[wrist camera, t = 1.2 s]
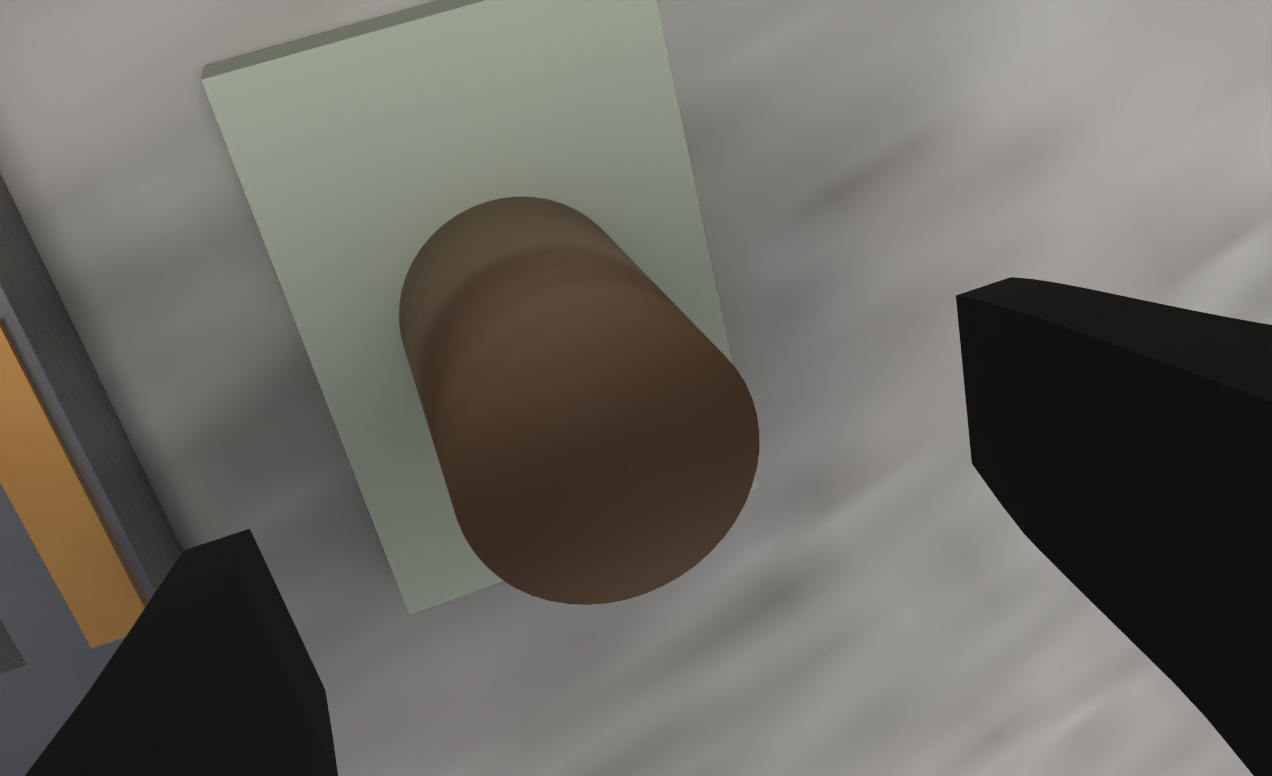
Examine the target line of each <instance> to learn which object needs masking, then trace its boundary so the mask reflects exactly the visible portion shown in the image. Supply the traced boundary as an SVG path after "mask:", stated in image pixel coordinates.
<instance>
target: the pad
mask: <svg viewBox="0 0 1272 776" xmlns="http://www.w3.org/2000/svg"><path fill="white" fill-rule="evenodd" d="M201 81H202V84H203V87H204V89H205V92H206V94H207V97H208V99H209V102H210V105H211V107H212V110H213V112H214V115H215V117H216V120H217V123H218V125H219V128H220V130H221V133H222V135H223V138H224V141H225V143H226V146H227V148H228V151H229V153H230V156H231V158H232V161H233V164H234V166H235V169H236V171H237V174H238V176H239V179H240V182H241V184H242V187H243V189H244V192H245V194H246V197H247V200H248V202H249V205H250V207H251V210H252V212H253V215H254V218H255V220H256V223H257V225H258V228H259V230H260V233H261V236H262V238H263V241H264V243H265V246H266V248H267V251H268V254H269V256H270V259H271V261H272V264H273V266H274V269H275V272H276V274H277V277H278V279H279V282H280V284H281V287H282V290H283V292H284V295H285V297H286V300H287V302H288V305H289V308H290V310H291V313H292V315H293V318H294V320H295V323H296V326H297V328H298V331H299V333H300V336H301V338H302V341H303V344H304V346H305V349H306V351H307V354H308V356H309V359H310V362H311V364H312V367H313V369H314V372H315V374H316V377H317V380H318V382H319V385H320V387H321V390H322V392H323V395H324V398H325V400H326V403H327V405H328V408H329V410H330V413H331V416H332V418H333V421H334V423H335V426H336V428H337V431H338V434H339V436H340V439H341V441H342V444H343V446H344V449H345V452H346V454H347V457H348V459H349V462H350V464H351V467H352V470H353V472H354V475H355V477H356V480H357V482H358V485H359V488H360V490H361V493H362V495H363V498H364V500H365V503H366V505H367V508H368V511H369V513H370V516H371V518H372V521H373V523H374V526H375V529H376V531H377V534H378V536H379V539H380V541H381V544H382V547H383V549H384V552H385V554H386V557H387V559H388V562H389V565H390V567H391V570H392V572H393V575H394V577H395V580H396V583H397V585H398V588H399V590H400V593H401V595H402V598H403V601H404V603H405V606H406V608H407V611H408V613H409V615H412V614H415V613H418V612H421V611H423V610H426V609H429V608H432V607H434V606H437V605H440V604H443V603H445V602H448V601H451V600H454V599H456V598H459V597H462V596H465V595H468V594H470V593H473V592H476V591H479V590H481V589H484V588H487V587H490V586H492V585H495V584H498V583H501V582H503V581H504V580H502V579H500V578H499V577H498V576H497V575H496V574H494V573H493V572H492V571H491V570H490V569H489V568H487V567H486V566H485V565H484V563H483V562H482V561H481V560H480V559H479V558H478V557H477V555H476V554H475V553H474V552H473V550H472V548H471V547H470V545H469V544H468V542H467V541H466V539H465V537H464V535H463V533H462V531H461V528H460V526H459V524H458V521H457V519H456V515H455V512H454V509H453V506H452V502H451V499H450V496H449V492H448V489H447V486H446V483H445V479H444V476H443V473H442V470H441V466H440V463H439V460H438V457H437V453H436V450H435V447H434V444H433V440H432V437H431V434H430V431H429V427H428V424H427V421H426V418H425V414H424V411H423V408H422V404H421V401H420V398H419V395H418V391H417V388H416V385H415V382H414V378H413V375H412V372H411V369H410V365H409V362H408V359H407V356H406V352H405V349H404V345H403V342H402V338H401V333H400V325H399V304H400V298H401V291H402V288H403V284H404V281H405V278H406V275H407V273H408V270H409V268H410V266H411V264H412V262H413V260H414V258H415V257H416V255H417V254H418V252H419V251H420V249H421V248H422V246H423V245H424V244H425V243H426V242H427V240H428V239H429V238H430V237H431V236H432V235H433V234H434V233H435V232H436V231H437V230H438V229H439V228H440V227H441V226H442V225H443V224H445V223H446V222H448V221H449V220H451V219H452V218H453V217H455V216H456V215H458V214H460V213H462V212H464V211H465V210H467V209H469V208H471V207H474V206H476V205H479V204H482V203H484V202H488V201H492V200H496V199H500V198H508V197H536V198H543V199H549V200H552V201H555V202H559V203H562V204H565V205H567V206H569V207H571V208H573V209H576V210H577V211H579V212H581V213H582V214H584V215H585V216H587V217H588V218H590V219H591V220H592V221H593V222H595V223H596V224H597V225H598V226H599V227H600V228H601V229H602V230H603V231H604V232H605V233H606V234H607V235H608V236H609V237H610V238H611V239H612V240H613V241H614V242H615V243H616V244H617V245H618V246H619V247H620V248H621V249H622V250H623V251H624V252H625V253H626V254H627V255H628V256H629V257H630V258H631V259H632V260H633V261H634V262H635V264H636V265H637V266H638V267H639V268H640V269H641V270H642V271H643V272H644V273H645V274H646V275H647V276H648V277H649V278H650V279H651V280H652V281H653V282H654V283H655V284H656V285H657V286H658V287H659V288H660V289H661V290H662V291H663V292H664V293H665V294H666V295H667V296H668V297H669V298H670V299H671V301H672V302H673V303H674V304H675V305H676V306H677V307H678V308H679V309H680V310H681V311H682V312H683V313H684V314H685V315H686V316H687V317H688V318H689V319H690V320H691V321H692V322H693V323H694V324H695V325H696V326H697V327H698V328H699V329H700V330H701V331H702V332H703V333H704V334H705V335H706V337H707V338H708V339H709V340H710V341H711V342H712V343H713V344H714V345H715V346H716V347H717V348H718V349H719V350H720V351H721V352H722V353H723V354H724V355H725V356H726V357H727V359H728V360H729V361H730V362H731V363H732V364H733V362H732V357H731V352H730V347H729V343H728V338H727V333H726V328H725V324H724V319H723V314H722V309H721V305H720V300H719V295H718V290H717V286H716V281H715V276H714V271H713V267H712V262H711V257H710V252H709V248H708V243H707V238H706V233H705V229H704V224H703V219H702V214H701V210H700V205H699V200H698V195H697V191H696V186H695V181H694V176H693V172H692V167H691V162H690V157H689V153H688V148H687V143H686V138H685V134H684V129H683V124H682V119H681V115H680V110H679V105H678V100H677V96H676V91H675V86H674V81H673V77H672V72H671V67H670V62H669V58H668V53H667V48H666V43H665V39H664V34H663V29H662V24H661V20H660V15H659V10H658V5H657V1H656V0H440V1H436V2H432V3H429V4H425V5H422V6H418V7H414V8H411V9H407V10H404V11H400V12H396V13H393V14H389V15H386V16H382V17H378V18H375V19H371V20H368V21H364V22H360V23H357V24H353V25H350V26H346V27H342V28H339V29H335V30H331V31H328V32H324V33H321V34H317V35H313V36H310V37H306V38H303V39H299V40H295V41H292V42H288V43H285V44H281V45H277V46H274V47H270V48H267V49H263V50H259V51H256V52H252V53H249V54H245V55H241V56H238V57H234V58H231V59H227V60H223V61H220V62H216V63H213V64H209V65H205V68H204V71H203V74H202V78H201ZM758 489H759V485H758V481H757V476H756V473H755V477H754V480H753V484H752V488H751V490H750V492H752V491H755V490H758ZM750 492H749V493H750Z"/></svg>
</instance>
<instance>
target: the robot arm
mask: <svg viewBox="0 0 1272 776" xmlns="http://www.w3.org/2000/svg"><path fill="white" fill-rule="evenodd" d="M956 301H957V311H958V322H959V332H960V343H961V353H962V364H963V374H964V385H965V395H966V406H967V416H968V427H969V437H970V448H971V458H972V464H973V466H974V467H975V468H976V470H977V471H978V473H979V474H980V475H981V477H982V478H983V480H984V481H985V482H986V484H987V485H988V487H989V488H990V489H991V491H992V492H993V493H994V495H995V496H996V498H997V499H998V500H999V502H1000V503H1001V505H1002V506H1003V507H1004V508H1005V510H1006V511H1007V512H1008V514H1009V515H1010V516H1011V517H1012V519H1013V520H1014V521H1015V523H1016V524H1017V525H1018V526H1019V528H1020V529H1021V530H1022V532H1023V533H1024V534H1025V535H1026V536H1027V537H1028V538H1029V539H1030V540H1031V541H1032V543H1033V544H1034V545H1035V546H1036V547H1037V548H1038V549H1039V550H1040V551H1041V552H1042V553H1043V554H1044V555H1045V556H1046V557H1047V558H1048V559H1049V560H1050V561H1051V562H1052V563H1053V564H1054V565H1055V566H1056V567H1057V568H1058V569H1059V570H1060V571H1061V572H1062V573H1063V574H1064V575H1065V576H1066V577H1067V578H1068V579H1069V580H1070V581H1071V582H1072V583H1073V584H1074V585H1075V586H1076V587H1077V588H1078V589H1079V590H1080V591H1081V592H1082V593H1083V594H1084V595H1085V596H1086V597H1087V598H1088V599H1089V600H1090V601H1091V602H1092V603H1093V604H1094V605H1095V606H1096V607H1097V608H1098V609H1099V610H1100V611H1101V612H1102V613H1103V614H1105V615H1106V616H1107V617H1108V618H1109V619H1110V620H1111V621H1112V622H1113V623H1114V624H1115V625H1116V626H1117V627H1118V628H1119V629H1120V630H1121V631H1122V632H1123V633H1124V634H1125V635H1126V636H1127V637H1128V638H1129V639H1130V640H1131V641H1132V642H1133V643H1134V644H1135V645H1136V646H1137V647H1138V648H1139V649H1140V650H1141V651H1142V652H1143V653H1144V654H1145V655H1146V656H1147V657H1148V658H1149V659H1150V660H1151V661H1152V662H1153V663H1154V664H1155V665H1156V666H1157V667H1158V668H1159V669H1160V670H1161V671H1162V672H1163V673H1164V674H1166V675H1167V676H1168V677H1169V678H1170V679H1171V680H1172V681H1173V682H1174V683H1175V685H1176V686H1177V687H1178V688H1179V689H1180V690H1181V691H1182V692H1183V693H1184V694H1185V695H1186V696H1187V697H1188V699H1189V700H1190V701H1191V702H1192V703H1193V704H1194V705H1195V706H1196V707H1197V708H1198V709H1199V710H1200V711H1201V712H1202V714H1203V715H1204V716H1205V717H1206V718H1207V719H1208V720H1209V722H1210V723H1211V724H1212V725H1213V726H1214V728H1215V729H1216V730H1217V731H1218V733H1219V734H1220V735H1221V736H1222V737H1223V739H1224V740H1225V741H1226V742H1227V744H1228V745H1229V746H1230V747H1231V748H1232V750H1233V751H1234V752H1235V753H1236V755H1237V756H1238V757H1239V758H1240V759H1241V761H1242V762H1243V763H1244V764H1245V766H1246V767H1247V768H1248V769H1249V770H1250V772H1251V773H1252V774H1253V775H1254V776H1272V325H1268V324H1262V323H1256V322H1251V321H1245V320H1240V319H1234V318H1229V317H1223V316H1218V315H1213V314H1208V313H1202V312H1197V311H1192V310H1187V309H1183V308H1178V307H1173V306H1168V305H1163V304H1158V303H1153V302H1149V301H1144V300H1139V299H1134V298H1129V297H1125V296H1120V295H1115V294H1110V293H1106V292H1101V291H1096V290H1091V289H1086V288H1081V287H1076V286H1070V285H1065V284H1060V283H1054V282H1048V281H1041V280H1034V279H1025V278H1014V277H1011V278H1008V279H1005V280H1002V281H998V282H995V283H992V284H989V285H986V286H983V287H980V288H977V289H974V290H971V291H968V292H965V293H962V294H959V295H956ZM25 776H338V773H337V765H336V758H335V751H334V743H333V736H332V730H331V724H330V717H329V711H328V704H327V698H326V692H325V689H324V687H323V684H322V682H321V680H320V678H319V676H318V674H317V672H316V669H315V667H314V665H313V663H312V661H311V659H310V657H309V654H308V652H307V650H306V648H305V646H304V644H303V642H302V639H301V637H300V635H299V633H298V631H297V629H296V627H295V625H294V622H293V620H292V618H291V616H290V614H289V612H288V610H287V607H286V605H285V603H284V601H283V599H282V597H281V595H280V592H279V590H278V588H277V586H276V584H275V582H274V580H273V577H272V575H271V573H270V571H269V569H268V567H267V565H266V562H265V560H264V558H263V556H262V554H261V552H260V550H259V548H258V545H257V543H256V541H255V539H254V537H253V535H252V533H251V530H250V529H248V530H245V531H242V532H239V533H236V534H233V535H230V536H227V537H224V538H221V539H217V540H214V541H211V542H208V543H205V544H202V545H199V546H196V547H193V548H190V549H187V550H185V551H184V552H183V553H182V555H181V556H180V557H179V559H178V560H177V561H176V563H175V564H174V565H173V567H172V568H171V570H170V571H169V573H168V574H167V575H166V577H165V578H164V580H163V581H162V583H161V584H160V586H159V587H158V589H157V590H156V592H155V593H154V595H153V596H152V598H151V599H150V601H149V602H148V604H147V605H146V607H145V608H144V610H143V612H142V613H141V615H140V616H139V618H138V619H137V621H136V622H135V624H134V625H133V627H132V628H131V630H130V631H129V633H128V634H127V636H126V637H125V638H124V640H123V641H122V643H121V644H120V646H119V647H118V649H117V650H116V652H115V653H114V655H113V656H112V658H111V659H110V660H109V662H108V663H107V665H106V666H105V668H104V669H103V671H102V672H101V674H100V675H99V677H98V678H97V679H96V681H95V682H94V684H93V685H92V687H91V688H90V690H89V691H88V693H87V694H86V695H85V697H84V698H83V699H82V701H81V702H80V703H79V705H78V706H77V707H76V709H75V710H74V711H73V713H72V714H71V715H70V717H69V718H68V719H67V721H66V722H65V723H64V724H63V726H62V727H61V728H60V730H59V731H58V732H57V734H56V735H55V736H54V738H53V739H52V740H51V742H50V743H49V744H48V746H47V747H46V748H45V750H44V751H43V752H42V753H41V755H40V756H39V757H38V759H37V760H36V761H35V763H34V764H33V765H32V767H31V768H30V769H29V771H28V772H27V773H26V775H25Z"/></svg>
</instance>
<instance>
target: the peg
mask: <svg viewBox="0 0 1272 776" xmlns="http://www.w3.org/2000/svg"><path fill="white" fill-rule="evenodd" d="M399 325H400V333H401V338H402V342H403V345H404V349H405V352H406V356H407V359H408V362H409V365H410V369H411V372H412V375H413V378H414V382H415V385H416V388H417V391H418V395H419V398H420V401H421V404H422V408H423V411H424V414H425V418H426V421H427V424H428V427H429V431H430V434H431V437H432V440H433V444H434V447H435V450H436V453H437V457H438V460H439V463H440V466H441V470H442V473H443V476H444V479H445V483H446V486H447V489H448V492H449V496H450V499H451V502H452V506H453V509H454V512H455V515H456V519H457V521H458V524H459V526H460V528H461V531H462V533H463V535H464V537H465V539H466V541H467V542H468V544H469V545H470V547H471V548H472V550H473V552H474V553H475V554H476V555H477V557H478V558H479V559H480V560H481V561H482V562H483V563H484V565H485V566H486V567H487V568H489V569H490V570H491V571H492V572H493V573H494V574H496V575H497V576H498V577H499V578H500V579H502V580H504V581H505V582H507V583H508V584H510V585H512V586H513V587H515V588H517V589H519V590H521V591H523V592H526V593H528V594H530V595H532V596H536V597H539V598H542V599H546V600H549V601H554V602H561V603H567V604H586V605H589V604H602V603H610V602H615V601H621V600H626V599H629V598H632V597H636V596H639V595H642V594H645V593H647V592H650V591H652V590H654V589H657V588H659V587H661V586H664V585H665V584H667V583H669V582H671V581H672V580H674V579H676V578H678V577H679V576H681V575H682V574H684V573H685V572H687V571H688V570H689V569H691V568H692V567H694V566H695V565H696V564H697V563H699V562H700V561H701V560H702V559H703V558H704V557H705V556H706V555H708V554H709V553H710V552H711V551H712V550H713V549H714V547H715V546H716V545H717V544H718V543H719V542H720V541H721V540H722V539H723V538H724V536H725V535H726V533H727V532H728V531H729V529H730V528H731V526H732V525H733V524H734V522H735V521H736V519H737V517H738V515H739V514H740V512H741V510H742V508H743V506H744V505H745V502H746V500H747V497H748V495H749V492H750V490H751V488H752V484H753V480H754V477H755V473H756V469H757V462H758V455H759V428H758V421H757V414H756V411H755V407H754V404H753V400H752V397H751V395H750V393H749V391H748V388H747V386H746V384H745V382H744V380H743V379H742V377H741V376H740V374H739V373H738V371H737V369H736V368H735V366H734V365H733V364H732V363H731V362H730V361H729V360H728V359H727V357H726V356H725V355H724V354H723V353H722V352H721V351H720V350H719V349H718V348H717V347H716V346H715V345H714V344H713V343H712V342H711V341H710V340H709V339H708V338H707V337H706V335H705V334H704V333H703V332H702V331H701V330H700V329H699V328H698V327H697V326H696V325H695V324H694V323H693V322H692V321H691V320H690V319H689V318H688V317H687V316H686V315H685V314H684V313H683V312H682V311H681V310H680V309H679V308H678V307H677V306H676V305H675V304H674V303H673V302H672V301H671V299H670V298H669V297H668V296H667V295H666V294H665V293H664V292H663V291H662V290H661V289H660V288H659V287H658V286H657V285H656V284H655V283H654V282H653V281H652V280H651V279H650V278H649V277H648V276H647V275H646V274H645V273H644V272H643V271H642V270H641V269H640V268H639V267H638V266H637V265H636V264H635V262H634V261H633V260H632V259H631V258H630V257H629V256H628V255H627V254H626V253H625V252H624V251H623V250H622V249H621V248H620V247H619V246H618V245H617V244H616V243H615V242H614V241H613V240H612V239H611V238H610V237H609V236H608V235H607V234H606V233H605V232H604V231H603V230H602V229H601V228H600V227H599V226H598V225H597V224H596V223H595V222H593V221H592V220H591V219H590V218H588V217H587V216H585V215H584V214H582V213H581V212H579V211H577V210H576V209H573V208H571V207H569V206H567V205H565V204H562V203H559V202H555V201H552V200H549V199H543V198H536V197H508V198H500V199H496V200H492V201H488V202H484V203H482V204H479V205H476V206H474V207H471V208H469V209H467V210H465V211H464V212H462V213H460V214H458V215H456V216H455V217H453V218H452V219H451V220H449V221H448V222H446V223H445V224H443V225H442V226H441V227H440V228H439V229H438V230H437V231H436V232H435V233H434V234H433V235H432V236H431V237H430V238H429V239H428V240H427V242H426V243H425V244H424V245H423V246H422V248H421V249H420V251H419V252H418V254H417V255H416V257H415V258H414V260H413V262H412V264H411V266H410V268H409V270H408V273H407V275H406V278H405V281H404V284H403V288H402V291H401V298H400V304H399Z"/></svg>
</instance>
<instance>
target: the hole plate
mask: <svg viewBox="0 0 1272 776" xmlns="http://www.w3.org/2000/svg"><path fill="white" fill-rule="evenodd" d="M181 555H182V551H181V549H180V547H179V545H178V542H177V540H176V538H175V536H174V534H173V532H172V530H171V528H170V526H169V524H168V522H167V520H166V518H165V515H164V513H163V511H162V509H161V507H160V505H159V503H158V501H157V499H156V497H155V495H154V493H153V491H152V489H151V486H150V484H149V482H148V480H147V478H146V476H145V474H144V472H143V470H142V468H141V466H140V464H139V462H138V459H137V457H136V455H135V453H134V451H133V449H132V447H131V445H130V443H129V441H128V439H127V437H126V435H125V433H124V430H123V428H122V426H121V424H120V422H119V420H118V418H117V416H116V414H115V412H114V410H113V408H112V406H111V404H110V401H109V399H108V397H107V395H106V393H105V391H104V389H103V387H102V385H101V383H100V381H99V379H98V377H97V374H96V372H95V370H94V368H93V366H92V364H91V362H90V360H89V358H88V356H87V354H86V352H85V350H84V348H83V345H82V343H81V341H80V339H79V337H78V335H77V333H76V331H75V329H74V327H73V325H72V323H71V321H70V318H69V316H68V314H67V312H66V310H65V308H64V306H63V304H62V302H61V300H60V298H59V296H58V294H57V292H56V289H55V287H54V285H53V283H52V281H51V279H50V277H49V275H48V273H47V271H46V269H45V267H44V265H43V263H42V260H41V258H40V256H39V254H38V252H37V250H36V248H35V246H34V244H33V242H32V240H31V238H30V236H29V233H28V231H27V229H26V227H25V225H24V223H23V221H22V219H21V217H20V215H19V213H18V211H17V209H16V207H15V204H14V202H13V200H12V198H11V196H10V194H9V192H8V190H7V188H6V186H5V184H4V182H3V180H2V177H1V175H0V776H25V775H26V773H27V772H28V771H29V769H30V768H31V767H32V765H33V764H34V763H35V761H36V760H37V759H38V757H39V756H40V755H41V753H42V752H43V751H44V750H45V748H46V747H47V746H48V744H49V743H50V742H51V740H52V739H53V738H54V736H55V735H56V734H57V732H58V731H59V730H60V728H61V727H62V726H63V724H64V723H65V722H66V721H67V719H68V718H69V717H70V715H71V714H72V713H73V711H74V710H75V709H76V707H77V706H78V705H79V703H80V702H81V701H82V699H83V698H84V697H85V695H86V694H87V693H88V691H89V690H90V688H91V687H92V685H93V684H94V682H95V681H96V679H97V678H98V677H99V675H100V674H101V672H102V671H103V669H104V668H105V666H106V665H107V663H108V662H109V660H110V659H111V658H112V656H113V655H114V653H115V652H116V650H117V649H118V647H119V646H120V644H121V643H122V641H123V640H124V638H125V637H126V636H127V634H128V633H129V631H130V630H131V628H132V627H133V625H134V624H135V622H136V621H137V619H138V618H139V616H140V615H141V613H142V612H143V610H144V608H145V607H146V605H147V604H148V602H149V601H150V599H151V598H152V596H153V595H154V593H155V592H156V590H157V589H158V587H159V586H160V584H161V583H162V581H163V580H164V578H165V577H166V575H167V574H168V573H169V571H170V570H171V568H172V567H173V565H174V564H175V563H176V561H177V560H178V559H179V557H180V556H181Z"/></svg>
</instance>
